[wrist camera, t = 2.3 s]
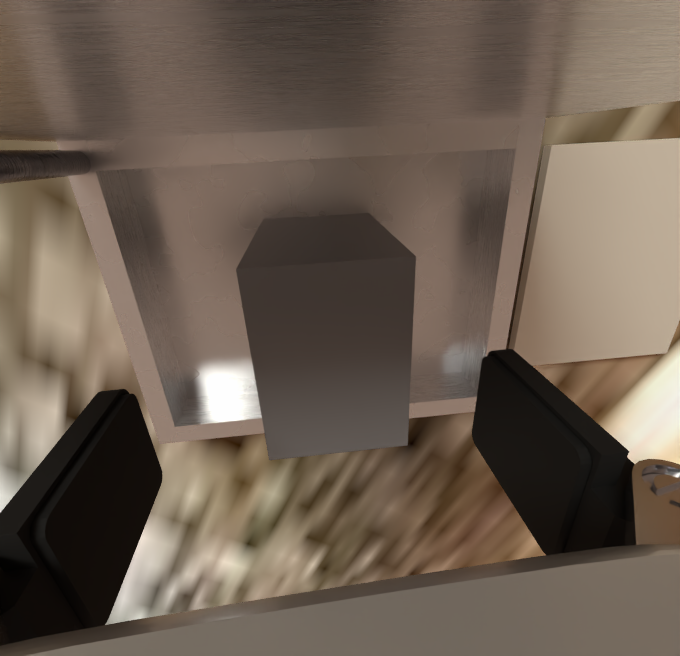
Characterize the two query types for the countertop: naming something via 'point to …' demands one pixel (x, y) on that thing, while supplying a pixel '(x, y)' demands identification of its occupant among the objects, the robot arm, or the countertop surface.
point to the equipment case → (309, 157)
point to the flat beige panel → (601, 253)
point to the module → (329, 333)
